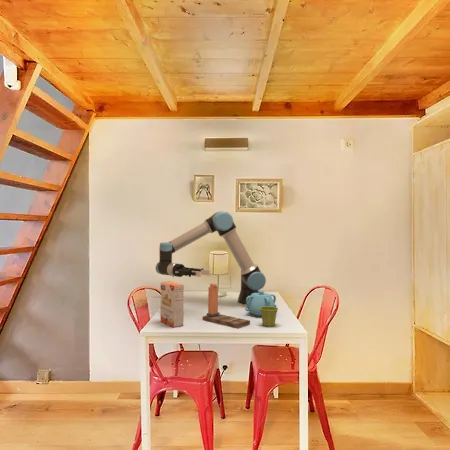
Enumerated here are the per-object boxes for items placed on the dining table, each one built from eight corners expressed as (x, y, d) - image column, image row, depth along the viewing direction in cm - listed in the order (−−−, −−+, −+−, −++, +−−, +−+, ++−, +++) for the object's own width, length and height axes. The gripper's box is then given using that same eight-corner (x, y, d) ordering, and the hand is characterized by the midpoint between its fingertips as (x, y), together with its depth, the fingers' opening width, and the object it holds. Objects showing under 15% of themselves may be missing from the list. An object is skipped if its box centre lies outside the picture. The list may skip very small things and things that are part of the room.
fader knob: (219, 314, 205) (219, 283, 205) (212, 316, 200) (212, 285, 200) (213, 313, 207) (214, 283, 207) (206, 315, 203) (206, 284, 203)
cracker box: (159, 321, 197) (160, 281, 197) (169, 320, 201) (170, 280, 201) (173, 327, 186) (173, 285, 186) (183, 326, 190) (184, 284, 190)
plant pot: (258, 322, 198) (258, 306, 198) (275, 322, 198) (275, 306, 198) (261, 327, 188) (261, 310, 188) (279, 327, 189) (280, 310, 189)
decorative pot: (241, 315, 213) (241, 291, 213) (254, 310, 227) (254, 287, 227) (268, 319, 205) (268, 294, 204) (279, 313, 218) (279, 290, 218)
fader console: (250, 324, 194) (250, 320, 194) (238, 328, 186) (238, 324, 186) (214, 316, 209) (215, 312, 209) (202, 320, 202) (202, 316, 202)
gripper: (188, 274, 230) (217, 278, 215) (163, 278, 215) (192, 282, 200) (188, 262, 230) (217, 265, 215) (163, 264, 215) (192, 268, 200)
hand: (205, 273), depth 207 cm, fingers open, 7 cm apart
